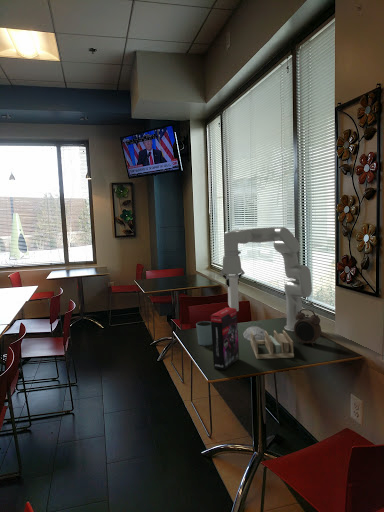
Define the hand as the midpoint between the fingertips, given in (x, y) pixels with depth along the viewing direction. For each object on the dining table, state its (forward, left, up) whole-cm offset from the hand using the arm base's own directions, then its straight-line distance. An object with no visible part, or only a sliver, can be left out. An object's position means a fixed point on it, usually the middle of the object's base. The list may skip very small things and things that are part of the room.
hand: (232, 285), depth 205 cm
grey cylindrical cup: (+17, -9, -36) cm, 40 cm away
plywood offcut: (-26, +7, -36) cm, 45 cm away
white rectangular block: (0, 0, -12) cm, 12 cm away
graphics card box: (+7, +23, -36) cm, 43 cm away
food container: (-15, -17, -36) cm, 43 cm away
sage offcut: (-21, +7, -36) cm, 42 cm away
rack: (-19, +7, -35) cm, 41 cm away
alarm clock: (-41, -1, -36) cm, 55 cm away
